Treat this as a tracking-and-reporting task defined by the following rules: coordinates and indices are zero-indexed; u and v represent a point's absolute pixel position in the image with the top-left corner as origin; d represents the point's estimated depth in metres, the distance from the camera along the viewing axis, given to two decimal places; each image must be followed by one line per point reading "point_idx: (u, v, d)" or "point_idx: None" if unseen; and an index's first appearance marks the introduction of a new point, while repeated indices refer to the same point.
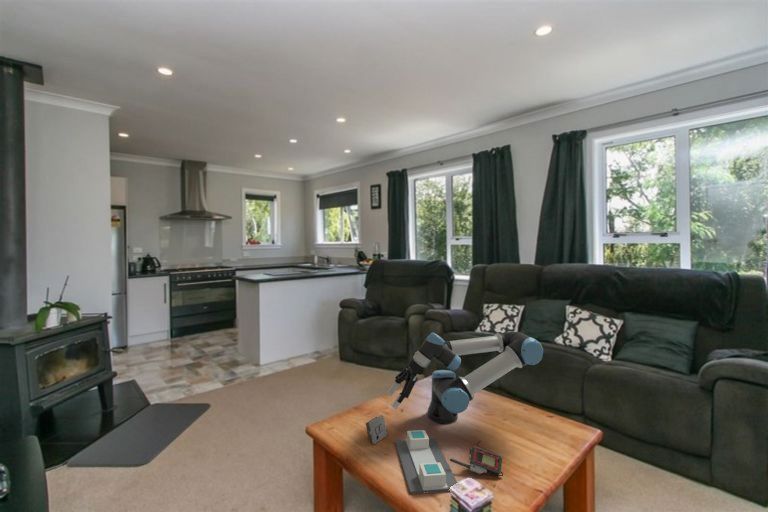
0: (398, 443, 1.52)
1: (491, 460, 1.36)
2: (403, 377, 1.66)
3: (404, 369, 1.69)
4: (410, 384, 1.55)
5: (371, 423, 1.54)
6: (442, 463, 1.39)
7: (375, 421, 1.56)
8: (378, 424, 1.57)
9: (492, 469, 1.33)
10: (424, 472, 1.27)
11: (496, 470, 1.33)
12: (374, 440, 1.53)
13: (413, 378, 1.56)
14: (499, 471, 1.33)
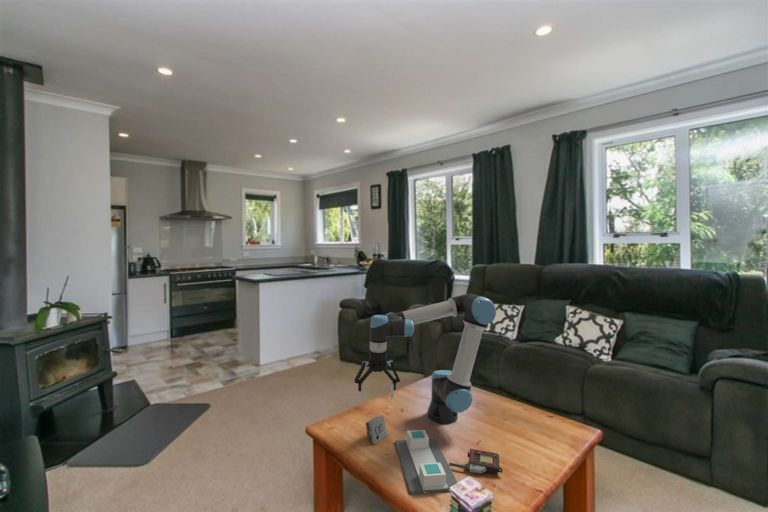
0: (398, 443, 1.52)
1: (489, 458, 1.38)
2: None
3: (363, 368, 1.54)
4: None
5: (371, 423, 1.54)
6: (442, 463, 1.39)
7: (375, 421, 1.56)
8: (378, 424, 1.57)
9: (491, 465, 1.35)
10: (424, 472, 1.27)
11: (495, 465, 1.35)
12: (374, 440, 1.53)
13: None
14: (498, 466, 1.34)
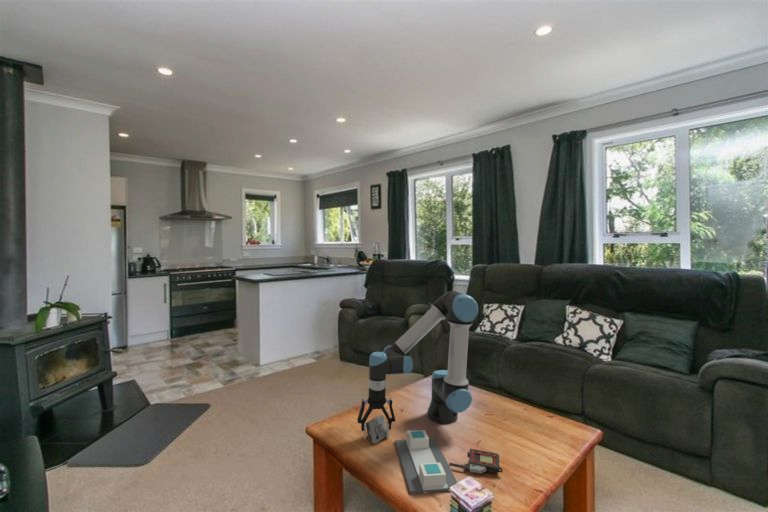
0: (398, 443, 1.52)
1: (489, 458, 1.38)
2: None
3: (363, 407, 1.55)
4: (392, 408, 1.58)
5: (371, 423, 1.54)
6: (442, 463, 1.39)
7: (375, 421, 1.56)
8: (378, 424, 1.57)
9: (491, 465, 1.35)
10: (424, 472, 1.27)
11: (495, 465, 1.35)
12: (374, 440, 1.53)
13: (391, 402, 1.57)
14: (498, 466, 1.34)
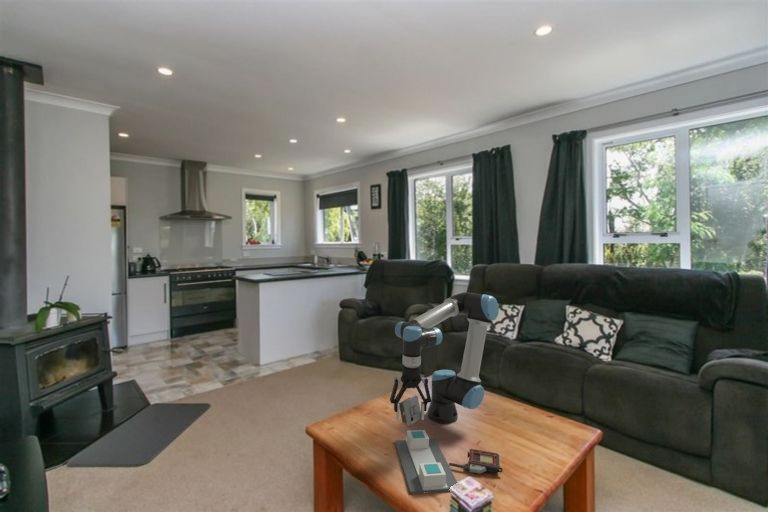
0: (398, 443, 1.52)
1: (489, 458, 1.38)
2: None
3: (396, 386, 1.42)
4: (428, 388, 1.44)
5: (405, 403, 1.41)
6: (442, 463, 1.39)
7: (409, 401, 1.43)
8: (412, 405, 1.44)
9: (491, 465, 1.35)
10: (424, 472, 1.27)
11: (495, 465, 1.35)
12: (408, 421, 1.40)
13: None
14: (498, 466, 1.34)
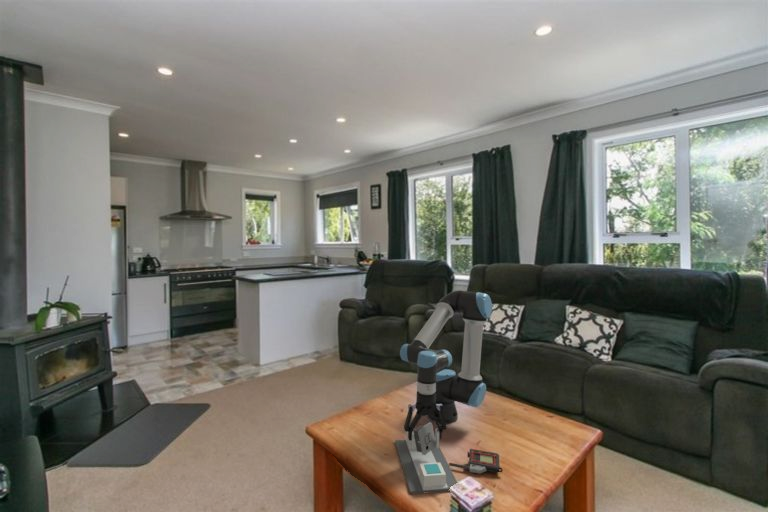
0: (398, 443, 1.52)
1: (489, 458, 1.38)
2: None
3: (411, 413, 1.37)
4: None
5: (420, 431, 1.36)
6: (442, 463, 1.39)
7: (424, 429, 1.38)
8: (427, 432, 1.39)
9: (491, 465, 1.35)
10: (424, 472, 1.27)
11: (495, 465, 1.35)
12: (424, 451, 1.35)
13: None
14: (498, 466, 1.34)
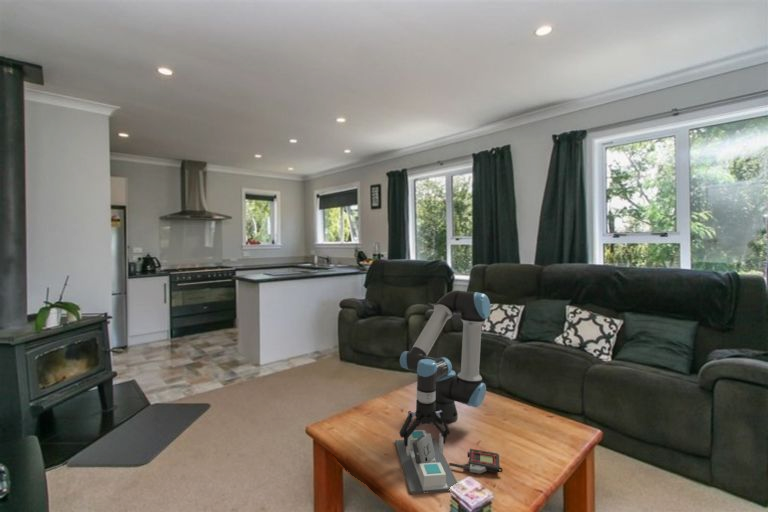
0: (398, 443, 1.52)
1: (489, 458, 1.38)
2: None
3: (409, 420, 1.37)
4: (444, 421, 1.40)
5: (419, 443, 1.37)
6: (442, 463, 1.39)
7: (423, 441, 1.39)
8: (426, 444, 1.40)
9: (491, 465, 1.35)
10: (424, 472, 1.27)
11: (495, 465, 1.35)
12: (423, 462, 1.36)
13: (442, 414, 1.40)
14: (498, 466, 1.34)
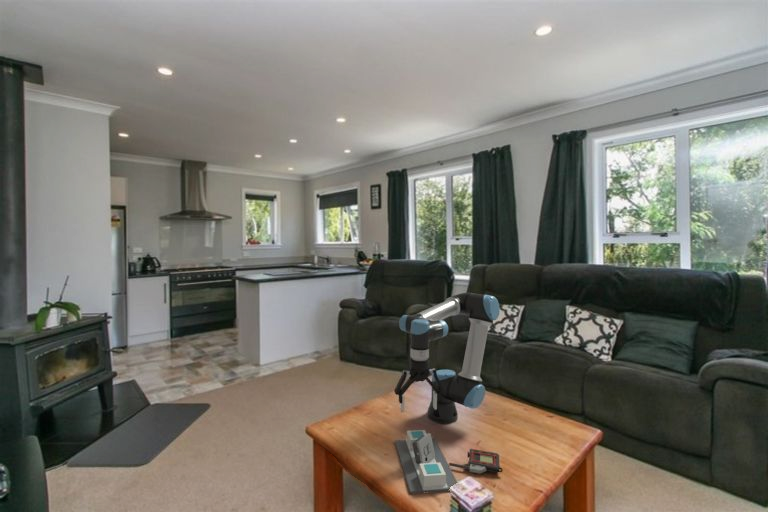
0: (398, 443, 1.52)
1: (489, 458, 1.38)
2: None
3: (404, 378, 1.41)
4: (438, 378, 1.44)
5: (419, 443, 1.37)
6: (442, 463, 1.39)
7: (423, 441, 1.39)
8: (426, 444, 1.40)
9: (491, 465, 1.35)
10: (424, 472, 1.27)
11: (495, 465, 1.35)
12: (423, 462, 1.36)
13: None
14: (498, 466, 1.34)
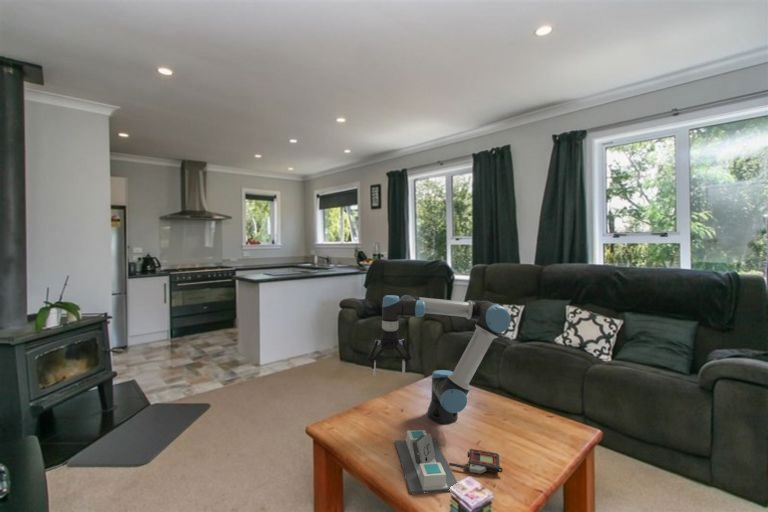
0: (398, 443, 1.52)
1: (489, 458, 1.38)
2: None
3: (375, 346, 1.60)
4: (406, 348, 1.63)
5: (419, 443, 1.37)
6: (442, 463, 1.39)
7: (423, 441, 1.39)
8: (426, 444, 1.40)
9: (491, 465, 1.35)
10: (424, 472, 1.27)
11: (495, 465, 1.35)
12: (423, 462, 1.36)
13: (404, 342, 1.62)
14: (498, 466, 1.34)
